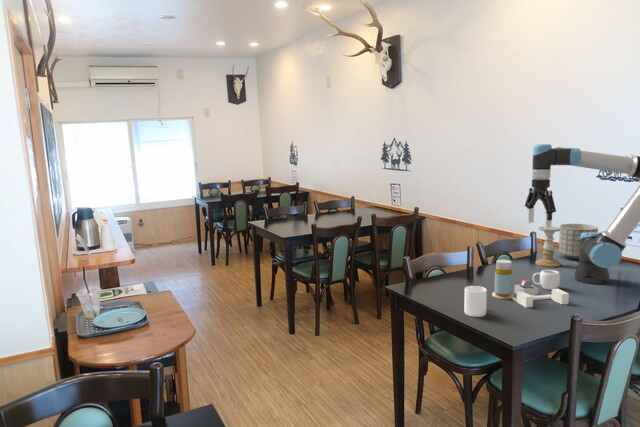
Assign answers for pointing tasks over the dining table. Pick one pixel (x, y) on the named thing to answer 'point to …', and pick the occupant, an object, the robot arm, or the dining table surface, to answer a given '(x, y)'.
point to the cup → (475, 301)
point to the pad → (502, 296)
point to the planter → (573, 238)
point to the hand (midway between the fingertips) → (539, 224)
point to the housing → (538, 296)
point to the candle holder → (548, 248)
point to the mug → (549, 279)
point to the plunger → (526, 284)
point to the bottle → (503, 278)
